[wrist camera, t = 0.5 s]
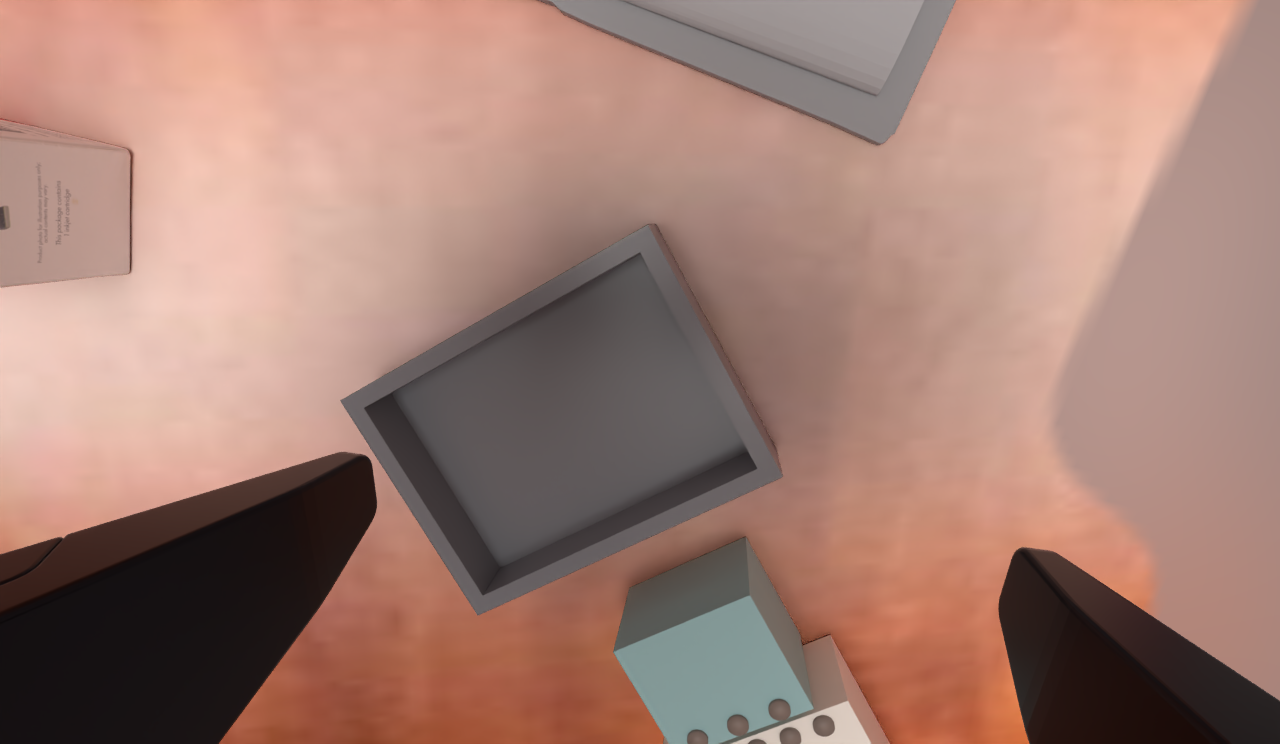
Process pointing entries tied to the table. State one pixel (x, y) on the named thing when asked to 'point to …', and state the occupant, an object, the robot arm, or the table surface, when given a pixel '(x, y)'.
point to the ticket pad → (824, 707)
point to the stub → (713, 649)
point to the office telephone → (790, 49)
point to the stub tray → (567, 424)
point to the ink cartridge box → (61, 206)
